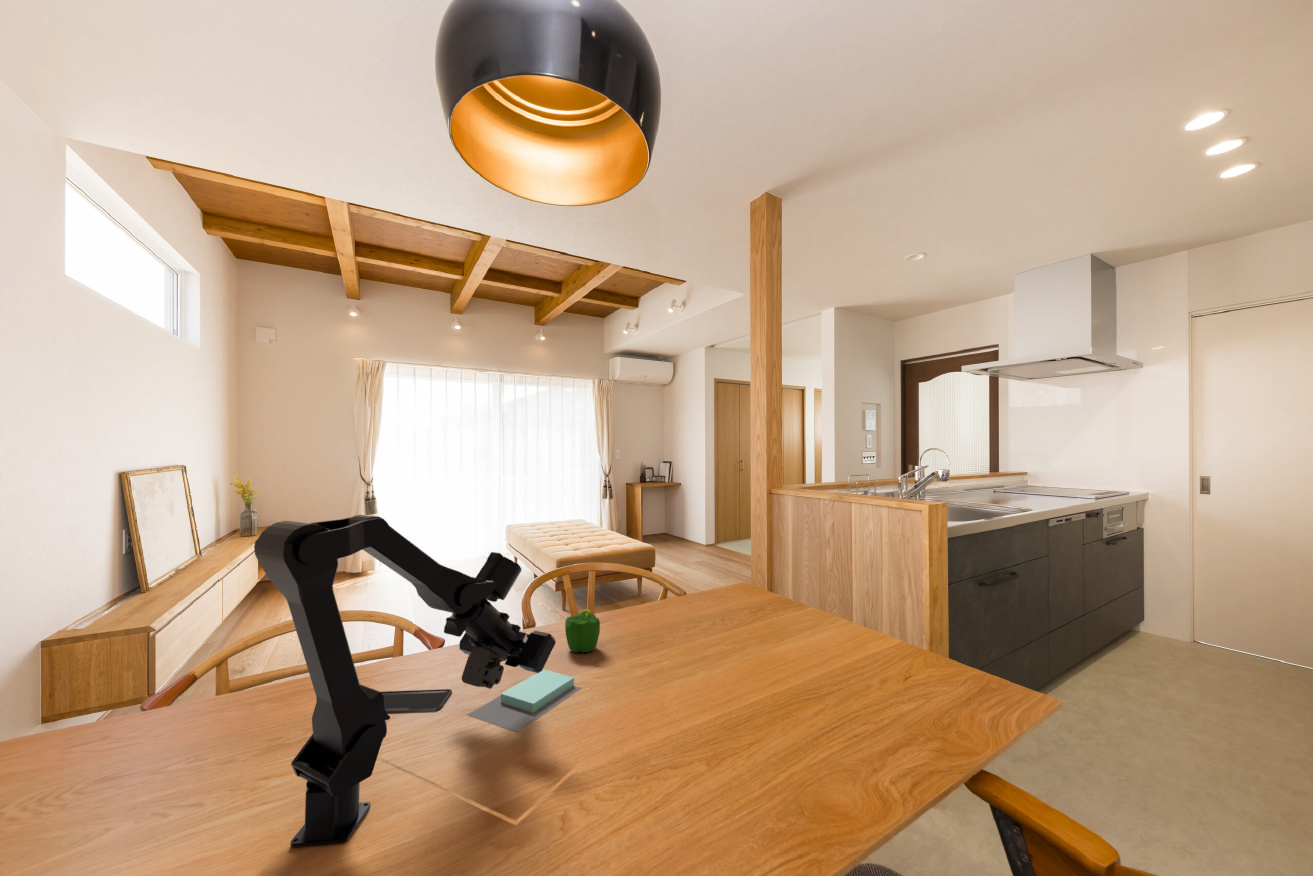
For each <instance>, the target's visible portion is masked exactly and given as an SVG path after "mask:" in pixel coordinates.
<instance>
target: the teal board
mask: <svg viewBox="0 0 1313 876" xmlns="http://www.w3.org/2000/svg"><path fill="white" fill-rule="evenodd" d="M573 686H575V677H574V676H570V675H566V674H562V673H558V672H554V671H551V670H547V669H545V668H543V670H542V671H541V672H539V673H535V674H533V675H531V676H529V677H527V678H526V679H524V680H522V681H520V682H518V683H517V684H516V685H513V686H512V687H510V688H508V689H506V690H505V691H502V692H501V693H500V695H501V703H505V704H508V705H511V706H514V707H517V708H520V709H523V710H526V711H529V712H532V713H534V712H535V711H537V710H538V709H540V708H541V707H543V706H544V705H546V704H547V703H549V702H550V701H552V700H553V699H555V698H556V697H558V696H559V695H561V694H562V693H564V692H565V691H567V690H568V689H570V688H571V687H573Z"/></svg>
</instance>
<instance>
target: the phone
mask: <svg viewBox="0 0 1313 876" xmlns="http://www.w3.org/2000/svg"><path fill="white" fill-rule="evenodd" d="M381 692H382V695H383V697H384V706H385V711H386V713H387V714H399V713H400V714H401V713H405V714H406V713H424V712H426V713H427V712H430V713H431V712H432V713H433V712H437V711H440V710H442V708H443V707H444V706H445V704H446V702H447V701H448V700H449V698H450V697H451V696H452V694H453V691H452V689H449V688H444V689H421V690H416V689H414V690H390V691H389V690H388V691H381Z"/></svg>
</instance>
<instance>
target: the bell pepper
mask: <svg viewBox="0 0 1313 876" xmlns="http://www.w3.org/2000/svg"><path fill="white" fill-rule="evenodd" d="M564 627H565V629H564V630H565V638H566V642H567V646H568V648H569V650H570V651H571V650H572V651H573V652H572V651H571V652H572V653H584V652H588V653H590V652H589V651H592V650H593V651H595V649H596V648H597V644H598V641H599V636H600V632H601V631H600V630H601V622H600V619H599V618H598V617H597V616H596V614H595V613H592V611H591V610H590V609H587V608H585V609H584V610H582V612H578V613H577V614H574V615H571V616H567V618H566V619H565V625H564ZM593 651H592V652H593Z"/></svg>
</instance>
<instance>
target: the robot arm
mask: <svg viewBox="0 0 1313 876" xmlns="http://www.w3.org/2000/svg"><path fill="white" fill-rule="evenodd" d="M253 547H254V549H253V550H254V555H255V558H256V560H257V561H258V563H259V565H260V566H261V568H262V570H263V572H264V573H265V575H266V576H267V578H268V579H269V581H271V582H272V584H273V585H274V586H275V587H276V589H277V590H278V591H279V592H280V593H281V594H282V596H283V597H284V598H285V600H286V602H287V604H288V608H289V612H290V615H291V619H292V621H293V624H294V628H295V632H296V634H297V638H298V641H299V644H300V647H301V651H302V654H303V657H304V658H303V659H304V660H305V665H306V668H307V671H308V674H309V677H310V680H311V683H312V687H313V690H314V693H315V697H316V701H315V706H314V710H313V711H312V712H313V713H312V717H311V726H312V734H311V736H310V737H309V738H308V740H307V741H306V742H305V744H304V745H303V746H302V748H301V749H300V750H299V752H298V753H297V754H296V756H295V757H294V759H293V760H292V761H291V763H290V765H291V766H290V767H291V768H292V770H293V773H294V774H295V776H296V777H298V778H302V779H304V780H306V784H305V785H306V786H305V801H304V802H305V803H304V805H305V808H304V824H303V825H302V826H301V828H300V829H299V831H297V833H296V834H295V835H294V837H292V839H291V840H290V842H289V843H290V844H289V845H290V847H291V848H295V847H296V848H298V847H311V846H323V845H337V844H344V843H347V842H348V841H349V839H350V838H351V837H352V835H353V834H354V832H355V831H356V829H357V828H358V826H359V824H360V823H361V822H362V820H363V818H364V817H365V816H366V815H367V813H368V812H369V810H370V808H371V802H369V801H363V802H361V801H360V785H361V783H362V782H363V781H364V780H367V779H368V778H370V777H371V776H372V775H373V771H374V768H375V765H376V762H377V759H378V756H379V751H380V749H381V746H382V743H383V741H384V739H385V738H386V737H387V733H388V726H387V721H388V720H390V719H391V716H390V715H389V713H386V711H385V706H384V697H383V695H382V692H383V691H379V690H377V689H374V688H371V687H369V686H366V685H363V684H361V683H360V681H359V678H358V674H357V670H356V666H355V663H354V659H353V656H352V652H351V649H350V645H349V642H348V638H347V634H346V631H345V628H344V624H343V621H342V617H341V613H340V610H339V606H338V603H337V598H336V596H335V595H336V594H335V592H334V582H335V578H336V575H337V571H338V567H339V560H338V559H342V558H346V557H349V556H352V555H354V554H356V553H359V552H360V551H362V550H363V551H364V552H366V553H367V554H369V555H370V556H372V557H373V558H374V559H376V560H377V561H379V562H380V563H382V564H383V565H385V566H386V567H387V568H389V569H391V570H392V571H394V572H395V573H396V574H397V575H399V576H401V577H402V578H404V579H405V580H407V582H409V583H411V585H412V586H413V587H414V588H415V590H416V593H417V595H418V597H419V598H420V599H421V600H422V601H423V602H424V603H425V604H426V605H427V606H428V607H429V608H432V609H434V610H438V611H443V612H446V613H452V614H451V616H449V617H446V618H445V625H444V629H443V633H444V634H447V635H451V636H454V637H458V638H459V637H461V639H460V641H459V647H458V648H459V650H460V651H461V652H463V654H465V655H468V656H467V659H466V662H465V665H464V669H463V672H462V674H461V681H462V683H464V684H467V685H470V686H474V687H476V688H477V687H478V688H486V689H492V688H493V687H494V685H498V684H500V682H501V680H502V678H503V677H502V676H503V673H504V670H505V667H504V665H506V666H509V667H513V668H517V667H519V668H521V669H523V670H525V671H528V672H531V673H532V672H533V673H535V674H536V673H539V672H541V671H542V670H543V669H545V666H546V664H547V661H548V660H549V657H550V655H551V653H552V651H553V649H554V647H555V644H556V643H557V641H556V638H555V637H554V636H553V635H552V634H551V633H549V632H544V631H539V630H534V631H531V632H530V633H526V632H523V631H521V626H520V625H518V624H515V623H511V622H510V621H509V618H510V617H511V616H510V615H509V614H508V613H506V612H503V611H502V612H501V611H499V610H498V609H497V608H496V607H495V606H494V605H493V604H492V603H491V602H493V603H496V602H497V601H498V600H502V601H504V600H505V599H506V597H507V596H508V594H509V592H510V591H511V589H512V587H513V586H514V584H515V583H516V581H517V579H518V577H519V576H520V574H521V573H522V567H521V565H520V564H519V563H517V562H515V561H514V560H511V559H510V558H508V557H505V556H503V554H502V553H500V552H493V551H491V552H490V554H489V555H488V556H487V558H486V561H485V563H484V564H483V566H481V567H482V568H480V570H479V571H478V573H477V575H476V576H475V577H474V576H469V575H468V574H465V573H463V572H461V571H460V570H459V571H458V570H456V569H453V568H451V567H450V568H449V567H447V566H445V565H442V564H440V563H439V562H438V561H436V560H435V559H434V558H432V557H431V556H429V555H428V554H427V553H426V552H424V551H423V550H422V549H420V548H419V547H418V546H417V545H415V544H414V543H412V541H410V540H409V539H407V538H406V537H404V536H403V535H402V534H401V533H400V532H398V531H397V530H395V528H393V527H392V526H390V525H389V523H388V522H387V521H386V520H385V519H384V518H383V517H381V516H377V515H365V514H357V515H353V516H350V517H345V518H338V519H331V520H323V521H315V522H300V521H293V520H282V521H278V522H275V523H273V524H271V525H269V526H267V527H266V528H264V530H262V532H261V533H260V534H259V536H258V538H256V540H255V541H254V546H253ZM464 632H465V633H464ZM462 635H463V636H462ZM504 661H505V662H504ZM502 662H504V665H502V664H501V663H502Z"/></svg>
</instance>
